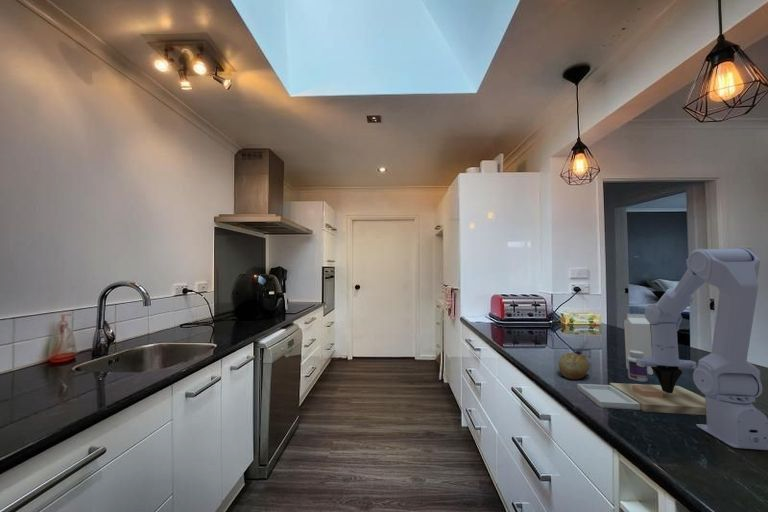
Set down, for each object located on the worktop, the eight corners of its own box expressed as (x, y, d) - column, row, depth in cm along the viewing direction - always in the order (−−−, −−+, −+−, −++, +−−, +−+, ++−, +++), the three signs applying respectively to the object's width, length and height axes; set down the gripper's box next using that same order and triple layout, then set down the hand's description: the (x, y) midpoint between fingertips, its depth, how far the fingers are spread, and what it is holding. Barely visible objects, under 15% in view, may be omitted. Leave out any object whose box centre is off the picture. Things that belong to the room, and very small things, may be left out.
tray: (610, 390, 97) (610, 385, 97) (640, 409, 83) (640, 404, 83) (577, 388, 99) (577, 383, 99) (601, 407, 85) (600, 401, 85)
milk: (626, 368, 118) (622, 312, 120) (644, 370, 116) (641, 313, 118) (634, 373, 112) (630, 314, 114) (653, 375, 111) (649, 315, 112)
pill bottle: (651, 382, 103) (650, 354, 104) (634, 381, 104) (632, 353, 105) (641, 377, 109) (640, 350, 109) (624, 376, 110) (623, 349, 110)
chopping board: (679, 392, 95) (678, 385, 95) (728, 416, 79) (727, 408, 79) (609, 389, 98) (609, 382, 98) (644, 411, 82) (643, 404, 82)
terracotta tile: (650, 390, 91) (650, 385, 92) (663, 397, 86) (662, 391, 87) (632, 389, 92) (632, 384, 92) (643, 396, 87) (643, 391, 87)
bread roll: (591, 372, 115) (590, 351, 115) (588, 384, 103) (587, 360, 103) (562, 367, 121) (561, 347, 121) (556, 378, 109) (555, 356, 109)
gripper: (681, 343, 92) (684, 387, 91) (628, 341, 94) (631, 385, 94) (701, 348, 85) (704, 397, 84) (644, 347, 87) (647, 394, 87)
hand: (667, 391), depth 89 cm, fingers closed
